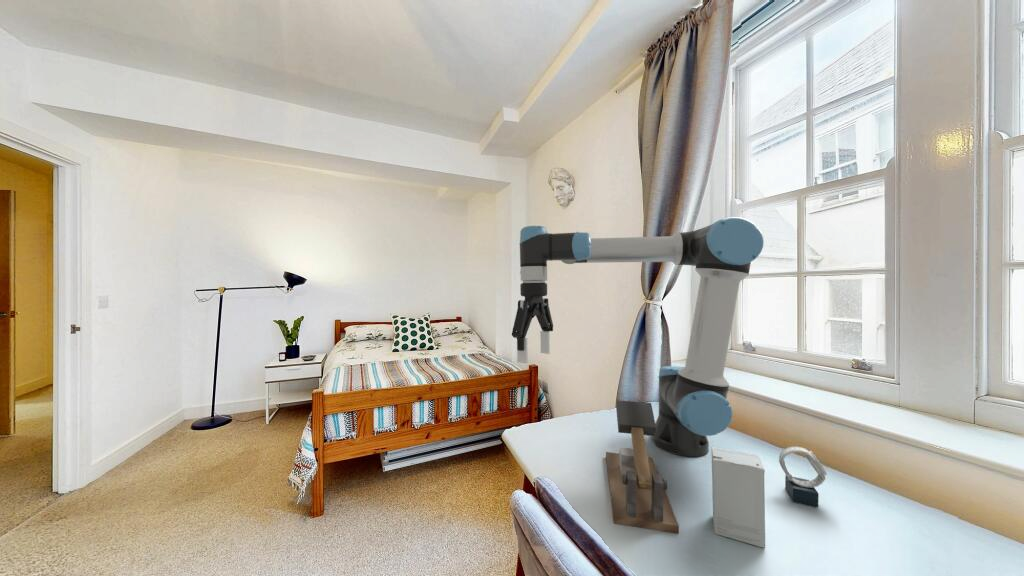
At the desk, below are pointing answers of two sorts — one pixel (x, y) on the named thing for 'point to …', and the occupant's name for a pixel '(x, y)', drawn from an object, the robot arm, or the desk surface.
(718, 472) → the skincare box
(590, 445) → the desk surface
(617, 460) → the press base
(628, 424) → the lever
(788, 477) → the watch
